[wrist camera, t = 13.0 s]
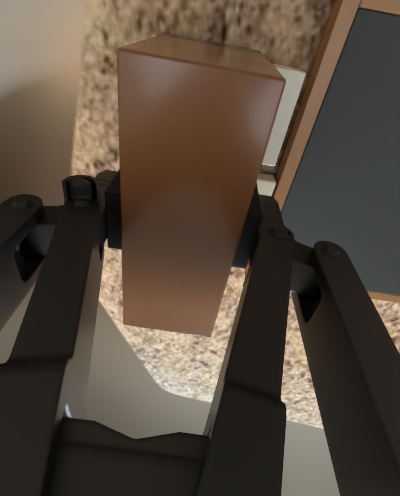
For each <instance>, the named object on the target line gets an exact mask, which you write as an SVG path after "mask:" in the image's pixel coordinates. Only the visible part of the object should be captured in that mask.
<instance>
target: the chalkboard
mask: <svg viewBox="0 0 400 496" xmlns="http://www.w3.org/2000/svg"><path fill="white" fill-rule="evenodd" d="M275 181H276V185H275V188H274V191H273V193H272V196H273V197H274V199H275V200H276V201H277V202H278V204H279V209H280V211H281V215H282V218H283V222H284V226H285V227H287V228H288V229H290V230H291V231H292V232H293V234H294V237H295V238H294V240H295V241H297V242H299V243H301V244H304V245H307V246H309V247H312V248H313V246H314V244H315V243H316V242H318V241H329V242H333V243H335V244H337V245H339V246H340V247H342V248H343V249H344V250H345V251H346V252H347V254H348V256H349V258H350V260H351V262H352V263H353V265H354V267H355V269H356V271H357V273H358V275H359V277H360V279H361V281H362V283H363V285H364V287H365V289H366V290H367V292H368V294H369V296H370V298H371V299H377V300H383V301H390V302H396V303H400V0H335V2H334V5H333V8H332V11H331V14H330V17H329V20H328V23H327V26H326V29H325V32H324V35H323V38H322V41H321V44H320V47H319V50H318V53H317V56H316V59H315V62H314V65H313V68H312V71H311V73H310V76H309V79H308V82H307V85H306V88H305V91H304V94H303V97H302V100H301V103H300V106H299V109H298V112H297V115H296V118H295V121H294V124H293V127H292V130H291V133H290V136H289V139H288V142H287V145H286V148H285V151H284V154H283V157H282V160H281V163H280V166H279V169H278V172H277V175H276V178H275ZM249 266H250V264H249V261H248V264H247V267H246V268H245V278H246V275H247V272H248V269H249Z"/></svg>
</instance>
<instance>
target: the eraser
mask: <svg viewBox="0 0 400 496" xmlns="http://www.w3.org/2000/svg"><path fill="white" fill-rule="evenodd" d="M117 70H118V113H119V156H120V199H121V242H122V285H123V323H124V325H130V326H137V327H143V328H150V329H157V330H164V331H170V332H177V333H184V334H190V335H197V336H204V337H211V335H212V332H213V328H214V325H215V321H216V318H217V315H218V311H219V308H220V304H221V301H222V298H223V294H224V291H225V287H226V284H227V281H228V277H229V274H230V271H231V267H232V264H233V260H234V257H235V254H236V250H237V247H238V243H239V240H240V237H241V233H242V230H243V226H244V223H245V220H246V216H247V213H248V209H249V206H250V203H251V199H252V196H253V193H254V189H255V186H256V182H257V179H258V176H259V172H260V169H261V165H262V162H263V159H264V155H265V152H266V148H267V145H268V142H269V138H270V135H271V131H272V128H273V125H274V121H275V118H276V115H277V111H278V108H279V104H280V101H281V98H282V94H283V91H284V87H285V84H286V79H285V78H284V77H283V76H282V75H281V74H280V72H279V71H278V70H277V69H276V68H275V67H274V66H273V65H272V64H271V63H270V62H269V61H268V60H267V59H266V58H265V57H264V55H263V54H262V53H261V52H260V51H258V50H253V49H247V48H242V47H237V46H231V45H226V44H221V43H216V42H210V41H205V40H200V39H194V38H189V37H184V36H178V35H173V34H168V33H166V34H163V35H160V36H156V37H153V38H150V39H146V40H143V41H140V42H136V43H133V44H130V45H127V46H123V47H120V48H118V49H117Z"/></svg>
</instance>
